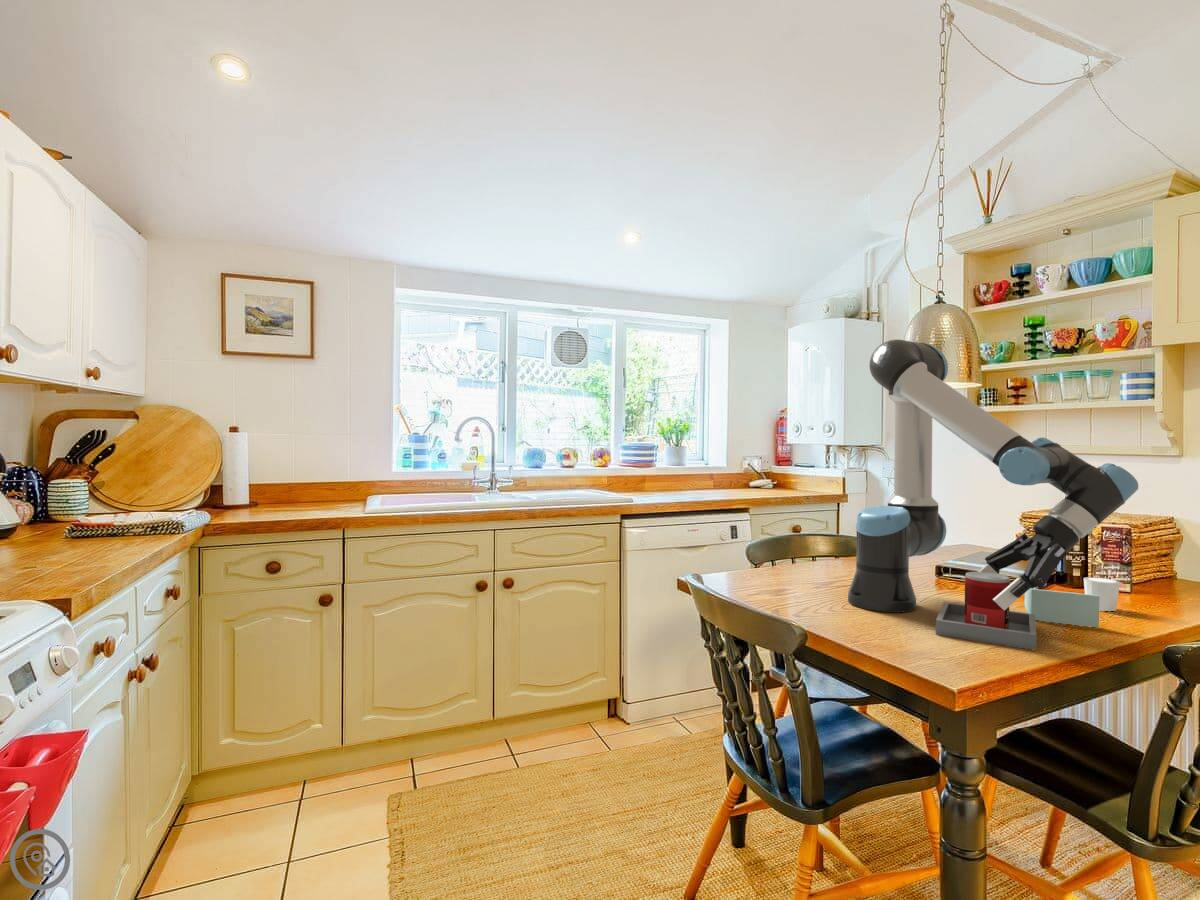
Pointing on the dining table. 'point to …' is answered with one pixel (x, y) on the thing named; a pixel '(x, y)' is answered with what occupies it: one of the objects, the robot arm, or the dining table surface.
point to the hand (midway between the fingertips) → (983, 596)
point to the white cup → (1103, 591)
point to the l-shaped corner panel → (1063, 607)
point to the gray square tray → (987, 628)
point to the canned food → (985, 599)
